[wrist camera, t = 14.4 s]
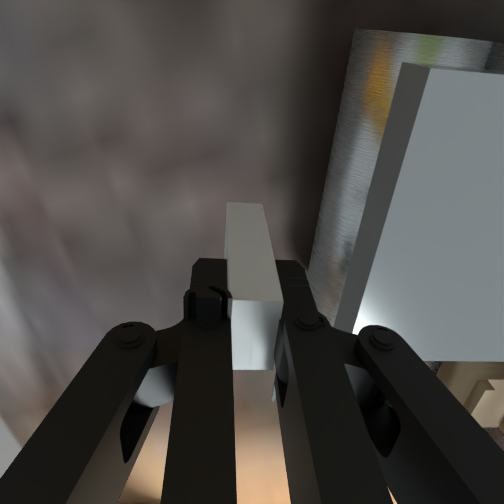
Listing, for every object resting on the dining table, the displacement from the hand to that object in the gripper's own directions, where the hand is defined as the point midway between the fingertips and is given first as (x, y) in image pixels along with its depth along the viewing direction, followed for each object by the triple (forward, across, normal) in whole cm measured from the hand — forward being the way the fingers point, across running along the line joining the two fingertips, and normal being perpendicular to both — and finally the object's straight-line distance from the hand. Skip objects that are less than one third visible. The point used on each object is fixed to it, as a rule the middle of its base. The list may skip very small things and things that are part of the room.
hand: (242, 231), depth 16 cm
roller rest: (+8, +22, -17) cm, 29 cm away
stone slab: (+2, +12, 0) cm, 12 cm away
